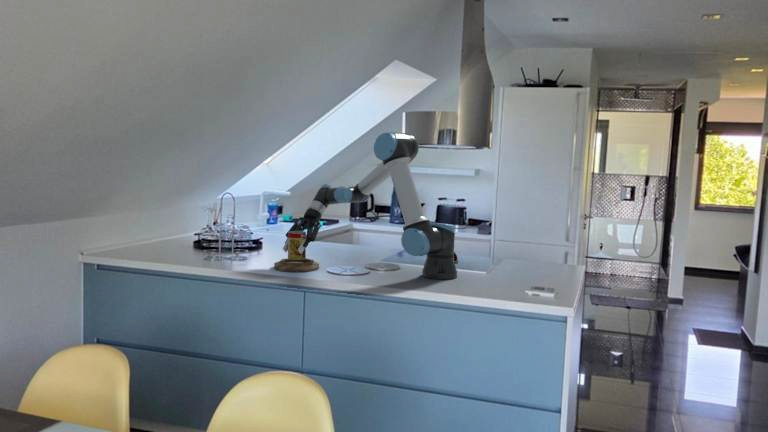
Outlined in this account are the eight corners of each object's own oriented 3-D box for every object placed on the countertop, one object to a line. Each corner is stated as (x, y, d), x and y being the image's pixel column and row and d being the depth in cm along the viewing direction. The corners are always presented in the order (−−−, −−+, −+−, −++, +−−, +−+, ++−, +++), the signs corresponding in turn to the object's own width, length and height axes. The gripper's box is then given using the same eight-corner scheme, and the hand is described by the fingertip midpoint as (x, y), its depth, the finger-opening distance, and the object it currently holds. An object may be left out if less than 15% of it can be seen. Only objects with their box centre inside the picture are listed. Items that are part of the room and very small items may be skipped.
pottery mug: (460, 265, 303) (453, 251, 301) (442, 273, 305) (435, 259, 302) (458, 255, 314) (451, 241, 312) (441, 262, 316) (434, 249, 314)
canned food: (306, 259, 279) (306, 232, 278) (288, 260, 277) (289, 233, 276) (304, 256, 287) (304, 230, 286) (287, 257, 285) (287, 230, 284)
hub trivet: (328, 269, 282) (328, 261, 282) (291, 274, 268) (291, 266, 268) (301, 262, 296) (301, 255, 296) (265, 267, 283) (265, 259, 282)
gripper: (336, 219, 288) (313, 258, 276) (300, 216, 299) (277, 254, 287) (329, 208, 283) (306, 248, 271) (293, 206, 294) (270, 243, 282)
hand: (291, 251), depth 279 cm, fingers closed on canned food, 8 cm apart
